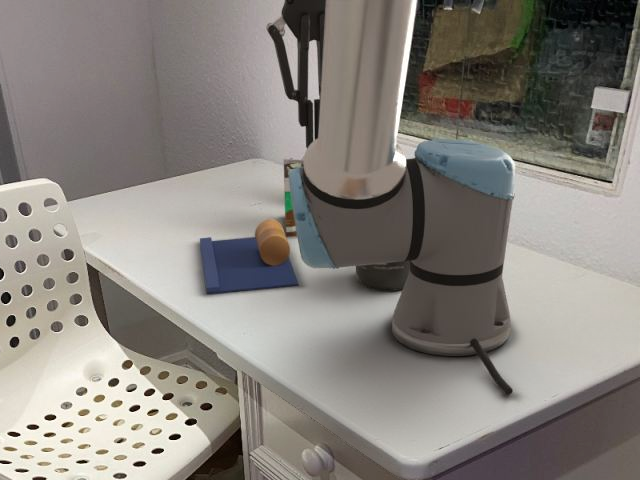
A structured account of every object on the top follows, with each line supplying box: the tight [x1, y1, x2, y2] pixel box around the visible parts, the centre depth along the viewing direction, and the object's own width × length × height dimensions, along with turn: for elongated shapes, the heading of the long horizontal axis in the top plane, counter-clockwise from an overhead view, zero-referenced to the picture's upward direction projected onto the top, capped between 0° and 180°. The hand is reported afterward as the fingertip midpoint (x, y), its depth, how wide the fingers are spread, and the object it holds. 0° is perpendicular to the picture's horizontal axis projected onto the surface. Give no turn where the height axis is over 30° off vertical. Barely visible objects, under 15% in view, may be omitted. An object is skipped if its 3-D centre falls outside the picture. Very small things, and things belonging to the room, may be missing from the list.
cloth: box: [199, 236, 300, 295], centre depth 132 cm, size 22×14×1 cm, turn 6°
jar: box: [354, 261, 410, 292], centre depth 121 cm, size 10×10×8 cm
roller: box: [254, 218, 291, 266], centre depth 131 cm, size 8×5×5 cm, turn 6°
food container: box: [283, 158, 303, 237], centre depth 141 cm, size 12×6×10 cm, turn 179°
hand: (314, 148), depth 123 cm, fingers closed
